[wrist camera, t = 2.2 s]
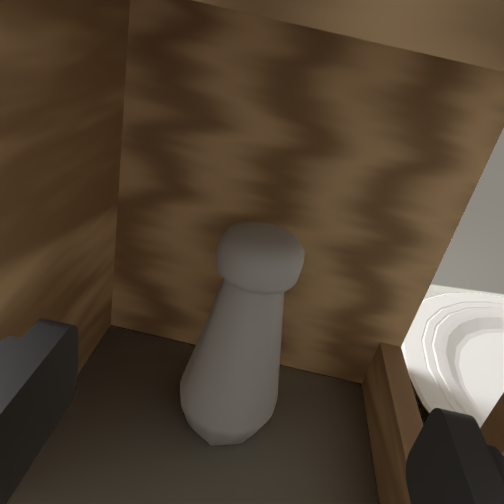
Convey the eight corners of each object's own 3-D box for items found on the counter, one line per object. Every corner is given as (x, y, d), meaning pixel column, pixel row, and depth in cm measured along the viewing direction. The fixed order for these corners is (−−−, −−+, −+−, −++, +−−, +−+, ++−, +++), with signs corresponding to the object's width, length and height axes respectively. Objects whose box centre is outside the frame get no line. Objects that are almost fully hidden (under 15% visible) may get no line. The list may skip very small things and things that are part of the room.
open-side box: (-41, 500, 20) (-167, -164, 9) (99, 308, 34) (114, -54, 23) (426, 611, 20) (857, 69, 9) (378, 373, 34) (529, 41, 23)
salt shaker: (282, 411, 29) (340, 235, 23) (241, 479, 24) (301, 281, 18) (206, 370, 31) (241, 198, 25) (154, 426, 26) (181, 230, 20)
